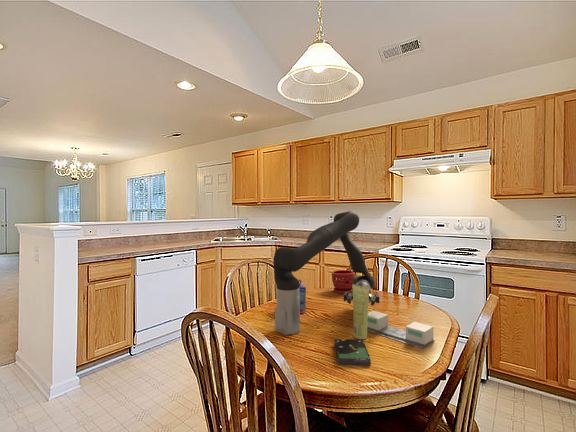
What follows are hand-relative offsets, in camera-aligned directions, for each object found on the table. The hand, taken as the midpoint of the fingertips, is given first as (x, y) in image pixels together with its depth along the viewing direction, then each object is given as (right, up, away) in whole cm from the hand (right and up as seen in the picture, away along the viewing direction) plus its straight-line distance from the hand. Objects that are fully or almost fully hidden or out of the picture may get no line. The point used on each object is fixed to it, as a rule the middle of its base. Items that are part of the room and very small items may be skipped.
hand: (360, 302), depth 123 cm
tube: (-1, -12, -4) cm, 13 cm away
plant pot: (+4, -11, +60) cm, 61 cm away
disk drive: (-7, -13, -18) cm, 23 cm away
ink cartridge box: (-24, -12, +28) cm, 39 cm away
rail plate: (+13, -12, -2) cm, 18 cm away
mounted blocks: (+13, -11, -2) cm, 17 cm away
